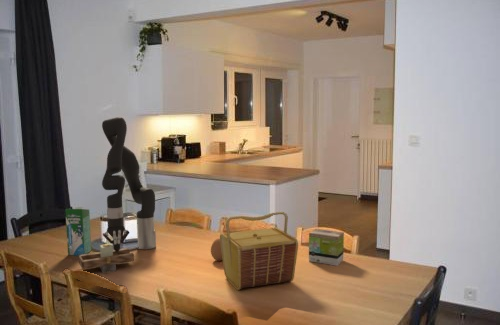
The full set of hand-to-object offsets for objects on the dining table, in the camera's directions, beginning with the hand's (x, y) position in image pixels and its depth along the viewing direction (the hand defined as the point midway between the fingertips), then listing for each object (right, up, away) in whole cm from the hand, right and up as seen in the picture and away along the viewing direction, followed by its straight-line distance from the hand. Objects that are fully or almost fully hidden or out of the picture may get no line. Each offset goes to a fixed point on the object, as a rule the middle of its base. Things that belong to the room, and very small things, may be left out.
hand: (116, 251), depth 235 cm
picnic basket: (+69, -9, -21) cm, 72 cm away
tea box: (+103, -6, +4) cm, 103 cm away
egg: (+49, -6, +7) cm, 50 cm away
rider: (-4, -4, -2) cm, 6 cm away
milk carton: (-26, -5, +23) cm, 36 cm away
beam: (-5, -8, -1) cm, 9 cm away
